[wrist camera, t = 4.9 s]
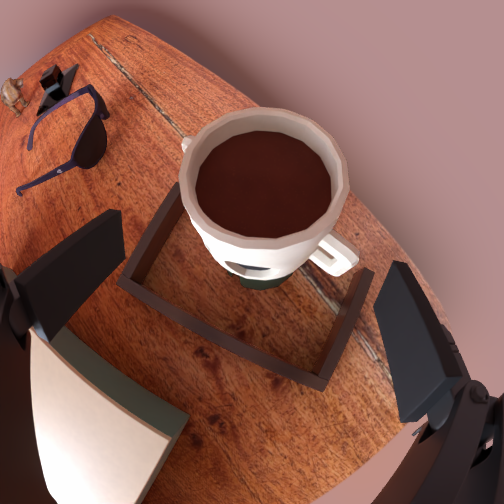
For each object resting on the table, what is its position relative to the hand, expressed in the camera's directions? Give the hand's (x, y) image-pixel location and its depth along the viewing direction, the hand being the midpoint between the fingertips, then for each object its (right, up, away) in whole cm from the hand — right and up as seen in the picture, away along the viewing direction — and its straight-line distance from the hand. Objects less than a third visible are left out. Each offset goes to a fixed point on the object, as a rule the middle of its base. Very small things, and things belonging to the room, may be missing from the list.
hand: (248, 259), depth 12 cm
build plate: (-35, +30, +20) cm, 50 cm away
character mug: (+1, 0, +11) cm, 11 cm away
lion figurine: (-46, +30, +20) cm, 59 cm away
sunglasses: (-25, +13, +15) cm, 32 cm away
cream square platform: (-23, -19, +6) cm, 30 cm away
